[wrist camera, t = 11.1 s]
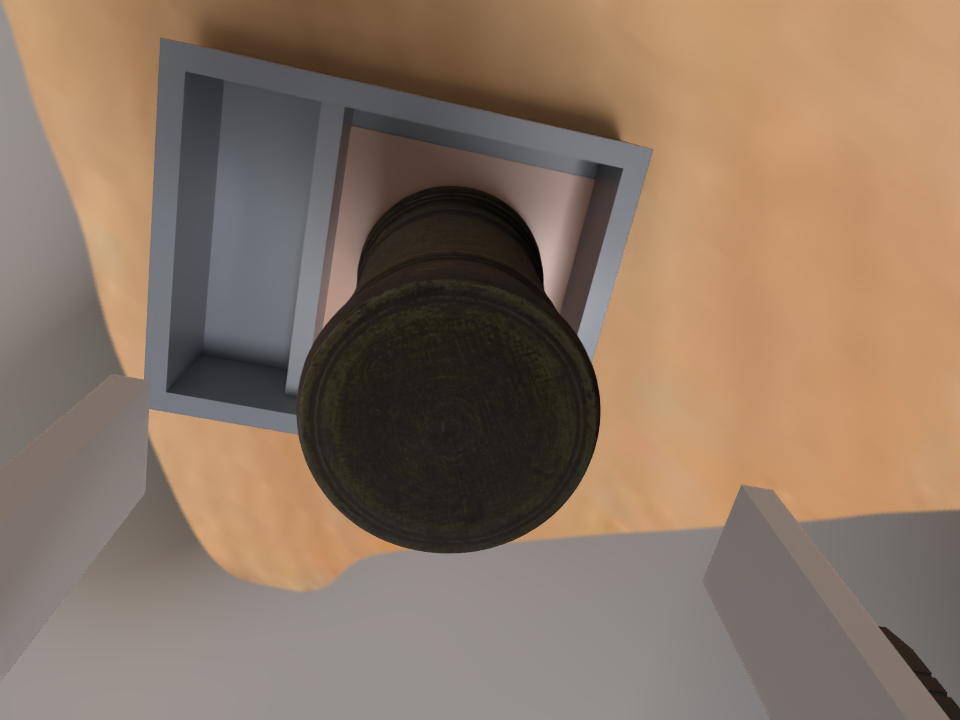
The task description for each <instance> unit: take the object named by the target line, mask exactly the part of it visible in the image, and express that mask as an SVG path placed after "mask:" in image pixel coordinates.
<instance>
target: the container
mask: <svg viewBox="0 0 960 720" xmlns="http://www.w3.org/2000/svg"><path fill="white" fill-rule="evenodd" d="M296 416H297V428H298V434H299V440H300V444H301V447H302V451H303V454H304V457H305V460H306V462H307V465H308V467H309V469H310V471H311V473H312V475H313V477H314V479H315V481H316V482H317V484H318V485H319V487H320V488H321V490H322V491H323V493H324V494H325V495H326V497H327V498H328V499H329V500H330V501H331V503H332V504H333V505H334V506H335V507H336V508H337V509H338V510H339V511H340V512H341V513H342V514H344V515H345V516H346V517H347V518H348V519H349V520H351V521H352V522H353V523H355V524H356V525H357V526H359V527H360V528H362V529H363V530H365V531H367V532H369V533H370V534H372V535H374V536H376V537H378V538H380V539H382V540H385V541H387V542H390V543H392V544H395V545H398V546H401V547H405V548H409V549H413V550H418V551H424V552H432V553H466V552H474V551H480V550H484V549H489V548H493V547H496V546H499V545H502V544H505V543H507V542H510V541H513V540H515V539H517V538H519V537H521V536H523V535H525V534H527V533H528V532H530V531H532V530H534V529H535V528H537V527H538V526H540V525H541V524H542V523H544V522H545V521H547V520H548V519H549V518H550V517H551V516H553V515H554V514H555V513H556V512H557V511H558V510H559V509H560V508H561V507H562V506H563V505H564V503H565V502H566V501H567V500H568V499H569V497H570V496H571V495H572V494H573V492H574V491H575V489H576V488H577V486H578V485H579V483H580V482H581V480H582V478H583V476H584V474H585V472H586V470H587V468H588V466H589V463H590V461H591V458H592V456H593V453H594V450H595V446H596V442H597V438H598V433H599V426H600V395H599V389H598V383H597V379H596V375H595V372H594V369H593V366H592V363H591V361H590V359H589V356H588V354H587V351H586V350H585V348H584V346H583V344H582V342H581V341H580V339H579V337H578V336H577V334H576V333H575V331H574V330H573V329H572V327H571V326H570V325H569V323H568V322H567V321H566V320H565V319H564V318H563V317H562V316H561V315H560V314H559V313H558V311H557V309H556V308H555V306H554V304H553V303H552V301H551V300H550V299H549V297H548V296H547V294H546V292H545V289H544V274H543V266H542V261H541V256H540V252H539V248H538V245H537V243H536V240H535V238H534V236H533V234H532V232H531V230H530V229H529V227H528V226H527V224H526V223H525V221H524V220H523V219H522V218H521V217H520V215H519V214H518V213H517V212H516V211H515V210H514V209H513V208H511V207H510V206H509V205H508V204H506V203H505V202H503V201H502V200H500V199H498V198H497V197H495V196H493V195H491V194H488V193H486V192H483V191H480V190H477V189H474V188H468V187H461V186H440V187H434V188H429V189H425V190H422V191H419V192H416V193H414V194H412V195H410V196H408V197H406V198H404V199H402V200H401V201H399V202H398V203H396V204H395V205H394V206H392V207H391V208H390V209H389V210H388V211H386V212H385V213H384V214H383V215H382V217H381V218H380V219H379V220H378V221H377V223H376V224H375V225H374V227H373V228H372V230H371V231H370V233H369V235H368V237H367V239H366V241H365V243H364V246H363V248H362V252H361V255H360V259H359V264H358V269H357V284H356V289H355V291H354V293H353V295H352V296H351V297H350V299H349V300H348V301H347V303H346V304H345V305H344V306H343V307H341V308H340V309H339V310H338V311H337V313H336V314H335V315H334V316H333V317H332V318H331V319H330V320H329V322H328V323H327V324H326V325H325V327H324V328H323V329H322V331H321V332H320V334H319V335H318V337H317V338H316V340H315V341H314V343H313V345H312V347H311V349H310V351H309V353H308V355H307V357H306V360H305V363H304V366H303V369H302V373H301V376H300V381H299V386H298V393H297V405H296Z"/></svg>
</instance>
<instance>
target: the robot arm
mask: <svg viewBox="0 0 960 720" xmlns="http://www.w3.org/2000/svg"><path fill="white" fill-rule="evenodd" d="M149 396H150V381H148V380H143V379H137V378H131V377H125V376H120V375H114V374H112V375H111V376H109V377H108V378H107V379H106V380H105V381H103V382H102V383H101V384H100V385H99V386H98V387H96V388H95V389H94V390H93V391H92V392H90V393H89V394H88V395H87V396H86V397H85V398H83V399H82V400H81V401H80V402H79V403H77V404H76V405H75V406H74V407H73V408H71V409H70V410H69V411H68V412H67V413H66V414H64V415H63V416H62V417H61V418H60V419H59V420H57V421H56V422H55V423H54V424H53V425H51V426H50V427H49V428H48V429H47V430H45V431H44V432H43V433H42V434H41V435H39V436H38V437H37V438H36V439H35V440H34V441H32V442H31V443H30V444H29V445H28V446H27V447H25V448H24V449H23V450H22V451H21V452H19V453H18V454H17V455H16V456H15V457H13V458H12V459H11V460H10V461H9V462H8V463H6V464H5V465H4V466H3V467H2V468H1V469H0V682H1V681H2V680H3V678H4V677H5V676H6V674H7V673H8V672H9V670H10V669H11V668H12V666H13V665H14V664H15V662H16V661H17V660H18V659H19V657H20V656H21V655H22V653H23V652H24V651H25V649H26V648H27V647H28V645H29V644H30V643H31V642H32V640H33V639H34V638H35V636H36V635H37V634H38V632H39V631H40V630H41V628H42V627H43V625H44V624H45V623H46V622H47V621H48V619H49V618H50V616H51V615H52V614H53V613H54V611H55V610H56V609H57V607H58V606H59V605H60V603H61V602H62V601H63V600H64V598H65V597H66V596H67V594H68V593H69V592H70V590H71V589H72V588H73V586H74V585H75V584H76V582H77V581H78V580H79V579H80V577H81V576H82V575H83V573H84V572H85V571H86V569H87V568H88V567H89V565H90V564H91V563H92V561H93V560H94V559H95V558H96V556H97V555H98V554H99V552H100V551H101V550H102V548H103V547H104V546H105V544H106V543H107V542H108V541H109V539H110V538H111V536H112V535H113V534H114V533H115V531H116V530H117V529H118V527H119V526H120V525H121V524H122V522H123V521H124V520H125V518H126V517H127V516H128V514H129V513H130V512H131V510H132V509H133V508H134V506H135V505H136V504H137V502H138V501H139V500H140V499H141V497H142V496H143V495H144V493H145V486H146V464H147V441H148V418H149ZM703 583H704V585H705V587H706V589H707V591H708V594H709V596H710V598H711V600H712V602H713V603H714V606H715V608H716V610H717V612H718V614H719V616H720V618H721V620H722V622H723V624H724V626H725V628H726V630H727V632H728V634H729V636H730V638H731V640H732V642H733V644H734V647H735V649H736V651H737V653H738V655H739V657H740V658H741V661H742V662H743V665H744V667H745V669H746V671H747V673H748V675H749V677H750V679H751V681H752V683H753V685H754V687H755V689H756V691H757V693H758V695H759V697H760V699H761V702H762V704H763V706H764V707H765V710H766V712H767V714H768V716H769V718H770V720H960V708H959V707H958V706H957V704H956V703H955V702H954V700H953V699H952V698H950V697H947V692H946V691H945V689H944V688H943V687H942V685H941V684H940V683H939V682H938V680H937V679H936V678H933V677H932V676H931V672H930V671H929V669H928V668H927V667H926V666H925V664H924V663H923V662H922V661H921V659H920V658H919V657H918V656H917V654H916V653H915V652H914V651H913V649H911V648H910V647H909V646H908V645H907V644H905V643H904V642H903V641H902V640H901V639H899V638H898V637H897V636H896V635H895V634H893V633H892V632H891V631H890V630H889V629H887V628H886V627H880V626H877V624H876V623H875V622H874V620H873V619H872V618H871V617H870V615H869V614H868V613H867V611H866V610H865V609H864V607H863V606H862V605H861V604H860V602H859V601H858V600H857V599H856V597H855V596H854V595H853V593H852V592H851V591H850V590H849V588H848V587H847V586H846V584H845V583H844V582H843V580H842V579H841V578H840V576H839V575H838V574H837V573H836V571H835V570H834V569H833V568H832V566H831V565H830V564H829V562H828V561H827V560H826V558H825V557H824V556H823V554H822V553H821V552H820V551H819V549H818V548H817V547H816V546H815V544H814V543H813V542H812V540H811V539H810V538H809V536H808V535H807V534H806V533H805V531H804V530H803V529H802V527H801V526H800V525H799V523H798V522H797V521H796V520H795V518H794V517H793V516H792V514H791V513H790V512H789V510H788V509H787V508H786V507H785V505H784V504H783V503H782V501H781V500H780V499H779V498H778V496H777V495H776V494H775V492H774V491H773V490H769V489H763V488H758V487H752V486H746V485H741V487H740V490H739V492H738V494H737V497H736V499H735V502H734V504H733V507H732V509H731V512H730V514H729V517H728V519H727V522H726V524H725V527H724V529H723V531H722V534H721V536H720V539H719V542H718V544H717V546H716V549H715V551H714V554H713V556H712V559H711V561H710V564H709V566H708V568H707V571H706V573H705V576H704V578H703Z"/></svg>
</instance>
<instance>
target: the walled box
mask: <svg viewBox="0 0 960 720" xmlns="http://www.w3.org/2000/svg"><path fill="white" fill-rule="evenodd" d="M652 152H653V149H650V148H646V147H643V146H639V145H635V144H632V143H628V142H624V141H621V140H616V139H612V138H607V137H603V136H598V135H594V134H590V133H585V132H581V131H576V130H572V129H568V128H563V127H559V126H554V125H550V124H545V123H541V122H537V121H532V120H528V119H523V118H519V117H515V116H510V115H506V114H501V113H497V112H492V111H488V110H484V109H479V108H475V107H470V106H466V105H462V104H457V103H453V102H448V101H444V100H439V99H435V98H431V97H426V96H422V95H417V94H413V93H409V92H404V91H400V90H395V89H391V88H386V87H382V86H378V85H373V84H369V83H364V82H360V81H356V80H351V79H347V78H342V77H338V76H333V75H329V74H325V73H320V72H316V71H311V70H307V69H303V68H298V67H294V66H289V65H285V64H280V63H276V62H272V61H267V60H263V59H258V58H254V57H249V56H245V55H241V54H236V53H232V52H227V51H223V50H219V49H214V48H209V47H204V46H199V45H194V44H189V43H184V42H179V41H174V40H169V39H163V38H160V56H159V77H158V98H157V119H156V140H155V161H154V182H153V203H152V223H151V244H150V265H149V286H148V307H147V328H146V349H145V369H144V380H148V381H150V396H149V409H153V410H158V411H164V412H170V413H176V414H182V415H187V416H193V417H199V418H205V419H211V420H216V421H222V422H228V423H234V424H240V425H246V426H251V427H257V428H263V429H269V430H275V431H280V432H286V433H292V434H298V428H297V416H296V405H297V393H298V386H299V381H300V376H301V373H302V369H303V366H304V363H305V360H306V357H307V355H308V353H309V351H310V349H311V347H312V345H313V343H314V341H315V340H316V338H317V337H318V335H319V334H320V332H321V331H322V329H323V328H324V327H325V325H326V324H327V323H328V322H329V320H330V319H331V318H332V317H333V316H334V315H335V314H336V313H337V311H338V310H339V309H340V308H341V307H343V306H344V305H345V304H346V303H347V301H348V300H349V299H350V297H351V296H352V295H353V293H354V291H355V289H356V284H357V269H358V264H359V259H360V255H361V252H362V248H363V246H364V243H365V241H366V239H367V237H368V235H369V233H370V231H371V230H372V228H373V227H374V225H375V224H376V223H377V221H378V220H379V219H380V218H381V217H382V215H383V214H384V213H385V212H386V211H388V210H389V209H390V208H391V207H392V206H394V205H395V204H396V203H398V202H399V201H401V200H402V199H404V198H406V197H408V196H410V195H412V194H414V193H416V192H419V191H422V190H425V189H429V188H434V187H440V186H461V187H468V188H474V189H477V190H480V191H483V192H486V193H488V194H491V195H493V196H495V197H497V198H498V199H500V200H502V201H503V202H505V203H506V204H508V205H509V206H510V207H511V208H513V209H514V210H515V211H516V212H517V213H518V214H519V215H520V217H521V218H522V219H523V220H524V221H525V223H526V224H527V226H528V227H529V229H530V230H531V232H532V234H533V236H534V238H535V240H536V243H537V245H538V248H539V252H540V256H541V261H542V266H543V274H544V289H545V292H546V294H547V296H548V297H549V299H550V300H551V301H552V303H553V304H554V306H555V308H556V309H557V311H558V313H559V314H560V315H561V316H562V317H563V318H564V319H565V320H566V321H567V322H568V323H569V325H570V326H571V327H572V329H573V330H574V331H575V333H576V334H577V336H578V337H579V339H580V341H581V342H582V344H583V346H584V348H585V350H586V351H587V354H588V356H589V359H590V361H591V363H592V360H593V357H594V353H595V350H596V346H597V343H598V339H599V336H600V332H601V329H602V325H603V322H604V318H605V315H606V311H607V308H608V304H609V301H610V298H611V294H612V291H613V287H614V284H615V280H616V277H617V273H618V270H619V266H620V263H621V259H622V256H623V252H624V249H625V245H626V242H627V238H628V235H629V232H630V228H631V225H632V221H633V218H634V214H635V211H636V207H637V204H638V200H639V197H640V193H641V190H642V186H643V183H644V179H645V176H646V172H647V169H648V166H649V162H650V159H651V155H652ZM298 435H299V434H298Z"/></svg>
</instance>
